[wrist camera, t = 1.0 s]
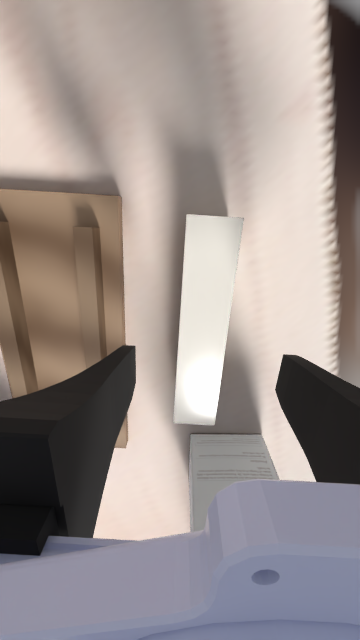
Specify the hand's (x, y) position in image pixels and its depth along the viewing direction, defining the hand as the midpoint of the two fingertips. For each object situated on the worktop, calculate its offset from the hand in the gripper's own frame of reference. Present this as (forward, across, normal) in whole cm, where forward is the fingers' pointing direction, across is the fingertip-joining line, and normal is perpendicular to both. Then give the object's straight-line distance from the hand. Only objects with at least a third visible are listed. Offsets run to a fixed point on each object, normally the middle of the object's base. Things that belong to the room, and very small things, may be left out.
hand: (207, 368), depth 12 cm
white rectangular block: (+9, 0, 0) cm, 9 cm away
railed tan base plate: (+8, +11, +3) cm, 14 cm away
